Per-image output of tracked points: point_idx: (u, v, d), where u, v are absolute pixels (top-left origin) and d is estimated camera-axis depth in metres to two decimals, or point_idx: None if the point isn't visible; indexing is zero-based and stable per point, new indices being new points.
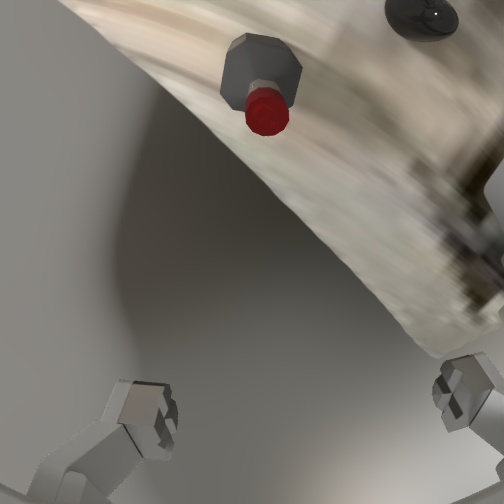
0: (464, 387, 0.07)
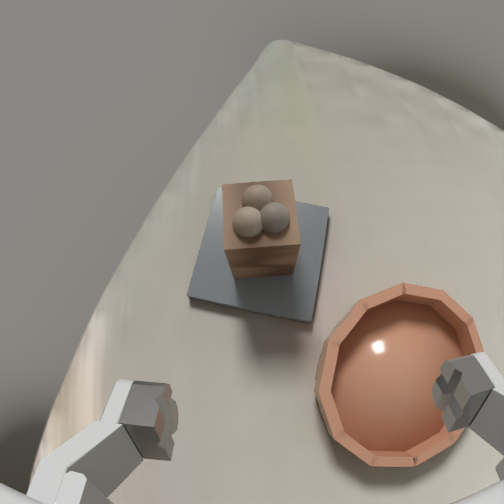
0: (464, 387, 0.07)
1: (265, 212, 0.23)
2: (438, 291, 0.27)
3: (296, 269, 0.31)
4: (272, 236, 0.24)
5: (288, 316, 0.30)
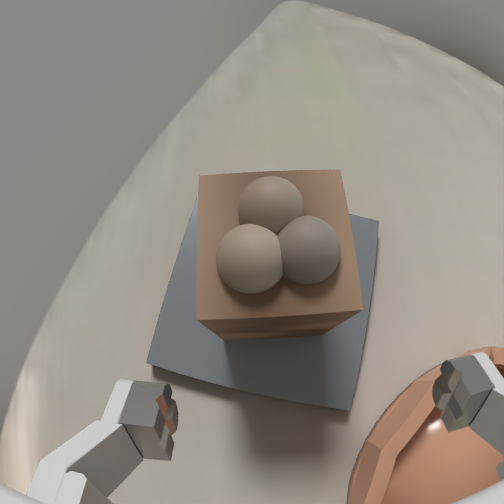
0: (464, 387, 0.07)
1: (291, 240, 0.10)
2: None
3: None
4: (303, 293, 0.11)
5: (313, 403, 0.16)
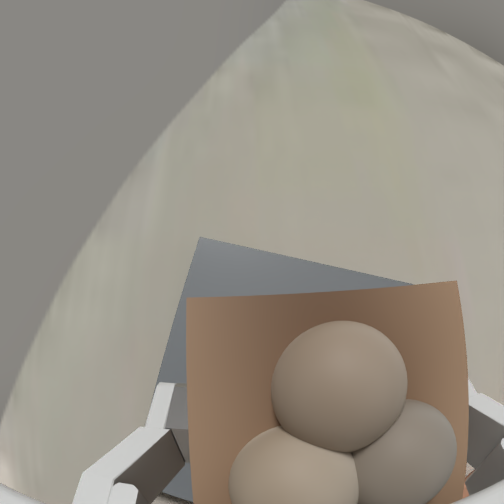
0: None
1: (385, 482, 0.04)
2: None
3: None
4: None
5: None
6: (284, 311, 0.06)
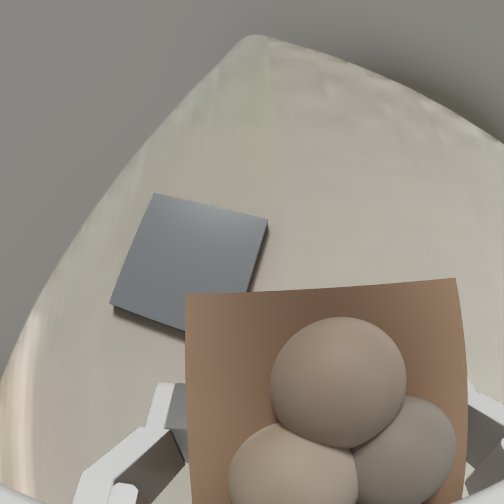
0: None
1: (384, 479, 0.04)
2: None
3: (220, 286, 0.28)
4: None
5: None
6: (283, 307, 0.06)
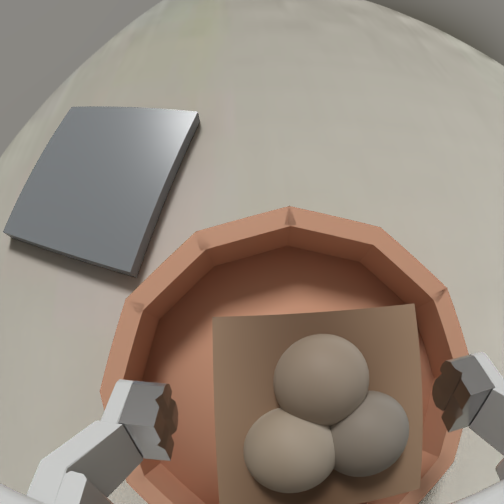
0: (464, 387, 0.07)
1: (352, 447, 0.06)
2: (369, 228, 0.15)
3: (126, 193, 0.19)
4: (354, 483, 0.07)
5: (100, 262, 0.17)
6: (282, 326, 0.08)
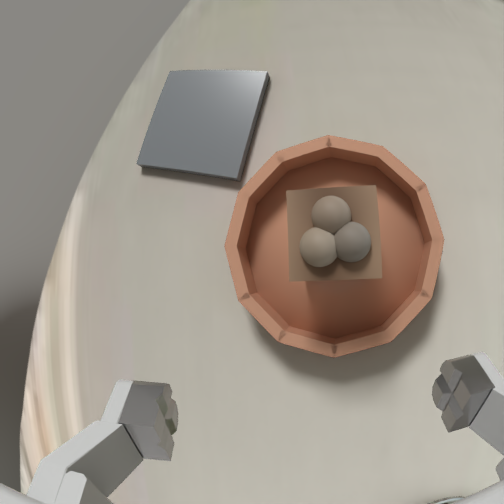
0: (464, 387, 0.07)
1: (341, 241, 0.18)
2: (375, 146, 0.24)
3: (227, 130, 0.30)
4: (348, 267, 0.19)
5: (216, 174, 0.30)
6: (315, 193, 0.19)
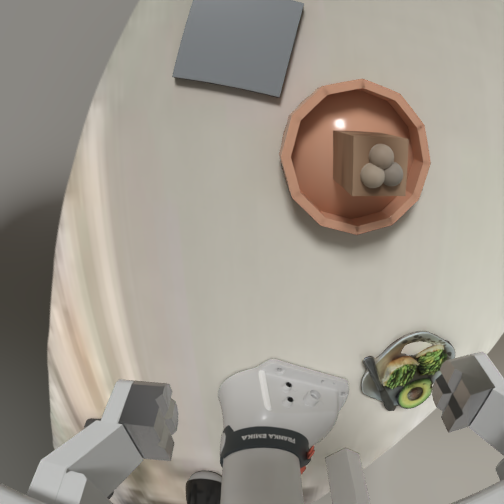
0: (464, 387, 0.07)
1: (389, 176, 0.27)
2: (395, 93, 0.29)
3: (268, 53, 0.30)
4: (387, 188, 0.28)
5: (259, 91, 0.32)
6: (372, 140, 0.26)
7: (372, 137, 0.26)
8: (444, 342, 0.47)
